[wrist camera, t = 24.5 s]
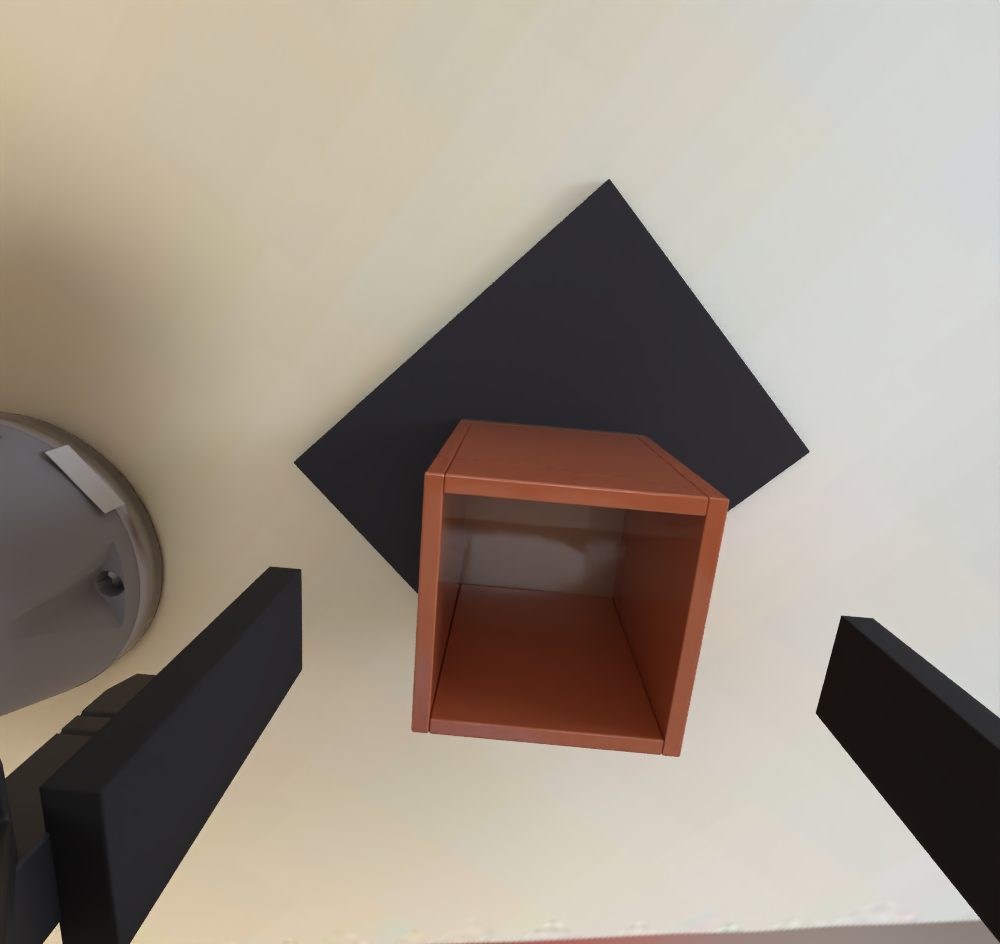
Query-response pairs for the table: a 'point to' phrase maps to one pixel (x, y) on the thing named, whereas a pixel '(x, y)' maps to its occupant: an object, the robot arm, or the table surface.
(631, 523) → the open square box
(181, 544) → the table surface
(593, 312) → the mat
